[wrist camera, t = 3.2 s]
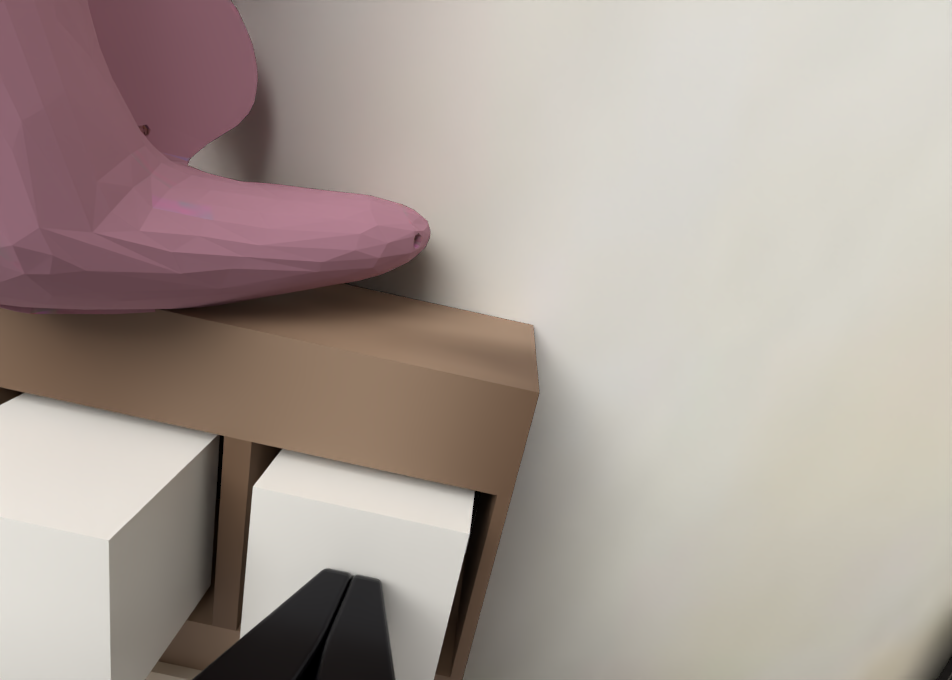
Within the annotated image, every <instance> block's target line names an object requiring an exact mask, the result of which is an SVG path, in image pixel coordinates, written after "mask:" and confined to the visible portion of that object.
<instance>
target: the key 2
mask: <svg viewBox="0 0 952 680" xmlns="http://www.w3.org/2000/svg"><path fill="white" fill-rule="evenodd" d="M474 493H475V490H470V489H466V488H461V487H457V486H452V485H447V484H443V483H438V482H434V481H429V480H424V479H420V478H415V477H411V476H406V475H401V474H397V473H392V472H388V471H383V470H378V469H374V468H369V467H365V466H360V465H355V464H351V463H346V462H342V461H337V460H332V459H328V458H323V457H319V456H314V455H310V454H305V453H300V452H296V451H291V450H287V449H282V450H281V451H280V452H279V454H278V455H277V456H276V457H275V459H274V460H273V461H272V463H271V464H270V465H269V467H268V468H267V469H266V470H265V472H264V473H263V474H262V476H261V477H260V478H259V479H258V481H257V482H256V483H255V485H254V486H253V491H252V503H251V514H250V526H249V538H248V549H247V561H246V573H245V584H244V596H243V608H242V619H241V631H240V639H241V638H242V637H243V636H244V635H245V634H247V633H248V632H249V631H250V630H251V629H252V628H254V627H255V626H256V625H257V624H258V623H260V622H261V621H262V620H263V619H264V618H266V617H267V616H268V615H269V614H270V613H272V612H273V611H274V610H275V609H276V608H277V607H279V606H280V605H281V604H282V603H283V602H285V601H286V600H287V599H288V598H289V597H291V596H292V595H293V594H294V593H295V592H296V591H298V590H299V589H300V588H301V587H302V586H304V585H305V584H306V583H307V582H308V581H310V580H311V579H312V578H313V577H314V576H316V575H317V574H318V573H319V572H320V571H322V570H323V569H326V568H331V569H335V570H340V571H345V572H349V573H350V574H351V575H352V578H353V577H354V576H355V575H363V576H368V577H372V578H377V579H379V580H380V581H381V583H382V587H383V594H384V601H385V608H386V615H387V622H388V629H389V636H390V644H391V651H392V658H393V665H394V672H395V679H396V680H434V677H435V672H436V668H437V664H438V660H439V656H440V652H441V648H442V644H443V640H444V636H445V632H446V628H447V624H448V620H449V616H450V612H451V607H452V603H453V599H454V595H455V591H456V587H457V583H458V579H459V575H460V571H461V567H462V563H463V559H464V555H465V551H466V547H467V542H468V538H469V534H470V527H471V518H472V510H473V502H474Z"/></svg>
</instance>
